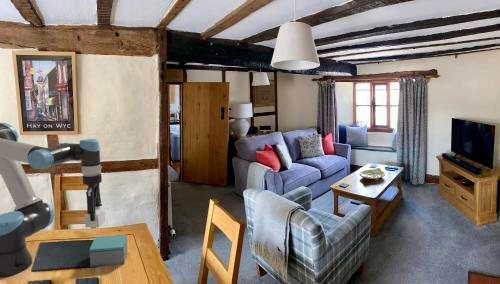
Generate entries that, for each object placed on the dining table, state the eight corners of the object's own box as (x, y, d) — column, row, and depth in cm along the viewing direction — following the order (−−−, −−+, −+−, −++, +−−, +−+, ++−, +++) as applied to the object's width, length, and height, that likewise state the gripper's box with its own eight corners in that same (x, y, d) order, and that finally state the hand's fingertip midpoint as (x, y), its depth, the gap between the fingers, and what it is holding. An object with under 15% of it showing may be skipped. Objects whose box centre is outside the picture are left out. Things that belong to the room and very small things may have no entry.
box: (90, 267, 140) (89, 252, 139) (96, 253, 152) (95, 240, 150) (124, 263, 144) (123, 249, 143) (127, 250, 155) (126, 237, 154)
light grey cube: (105, 222, 146) (104, 209, 145) (98, 227, 140) (97, 214, 139) (92, 221, 146) (91, 209, 145) (85, 227, 140) (84, 214, 139)
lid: (89, 251, 139) (89, 249, 139) (95, 238, 151) (95, 236, 150) (123, 249, 142) (123, 247, 142) (126, 236, 154) (126, 234, 154)
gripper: (95, 179, 131) (99, 232, 134) (105, 168, 150) (109, 214, 153) (75, 180, 129) (80, 234, 133) (88, 169, 148) (92, 216, 152)
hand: (95, 223), depth 143 cm, fingers closed on light grey cube, 7 cm apart
